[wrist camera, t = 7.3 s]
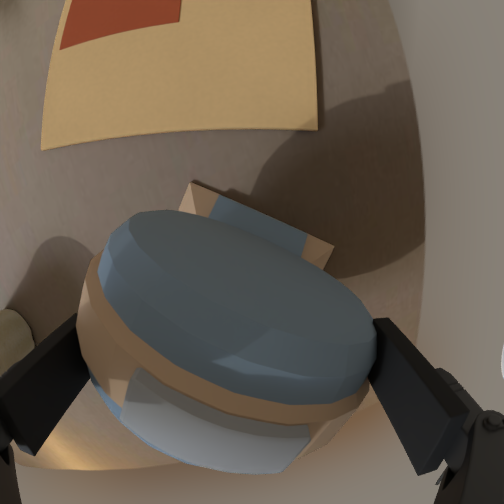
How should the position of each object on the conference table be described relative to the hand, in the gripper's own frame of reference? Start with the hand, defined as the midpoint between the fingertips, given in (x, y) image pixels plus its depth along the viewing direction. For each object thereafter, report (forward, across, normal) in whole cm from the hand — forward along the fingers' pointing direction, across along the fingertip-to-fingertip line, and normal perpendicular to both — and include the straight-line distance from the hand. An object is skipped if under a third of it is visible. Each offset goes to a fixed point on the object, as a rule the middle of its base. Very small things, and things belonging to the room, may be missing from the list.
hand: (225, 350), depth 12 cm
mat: (+12, -6, +22) cm, 26 cm away
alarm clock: (+12, 0, 0) cm, 12 cm away
